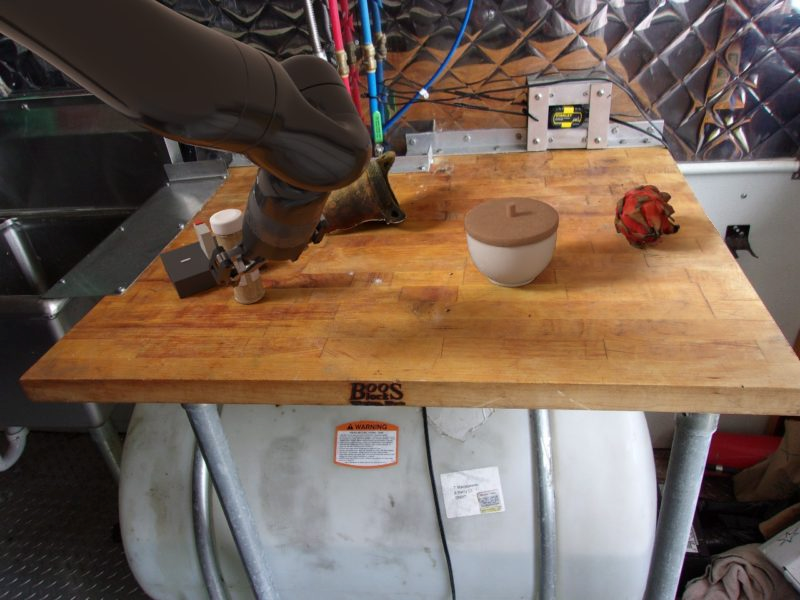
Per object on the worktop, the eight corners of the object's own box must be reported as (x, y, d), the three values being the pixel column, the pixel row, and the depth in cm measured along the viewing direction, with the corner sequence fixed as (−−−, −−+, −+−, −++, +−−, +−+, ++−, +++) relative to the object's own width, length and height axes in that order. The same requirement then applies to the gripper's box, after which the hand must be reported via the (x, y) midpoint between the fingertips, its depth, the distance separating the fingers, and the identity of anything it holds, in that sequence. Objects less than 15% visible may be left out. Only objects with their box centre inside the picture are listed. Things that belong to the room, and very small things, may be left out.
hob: (180, 298, 89) (173, 281, 87) (165, 269, 97) (158, 253, 95) (267, 267, 94) (262, 250, 92) (245, 242, 102) (241, 226, 100)
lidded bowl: (550, 302, 78) (553, 228, 71) (458, 293, 82) (453, 222, 75) (560, 254, 87) (564, 185, 81) (477, 249, 91) (474, 182, 85)
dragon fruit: (635, 226, 95) (651, 274, 86) (594, 202, 92) (606, 249, 84) (676, 188, 89) (698, 235, 81) (634, 162, 87) (651, 207, 78)
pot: (289, 169, 104) (381, 123, 101) (318, 209, 113) (403, 168, 110) (305, 236, 93) (407, 187, 91) (336, 274, 102) (429, 231, 100)
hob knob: (219, 256, 92) (210, 229, 89) (209, 260, 91) (200, 233, 89) (211, 244, 96) (202, 218, 93) (201, 248, 95) (192, 221, 93)
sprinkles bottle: (271, 294, 87) (248, 212, 79) (245, 309, 84) (219, 225, 77) (255, 284, 90) (231, 204, 82) (229, 298, 87) (202, 217, 80)
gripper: (237, 270, 58) (224, 315, 73) (356, 220, 64) (322, 271, 79) (202, 206, 59) (196, 263, 73) (323, 163, 65) (296, 223, 80)
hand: (262, 267), depth 76 cm, fingers open, 8 cm apart
